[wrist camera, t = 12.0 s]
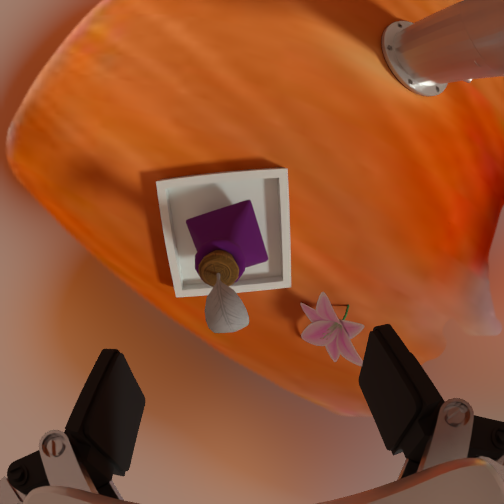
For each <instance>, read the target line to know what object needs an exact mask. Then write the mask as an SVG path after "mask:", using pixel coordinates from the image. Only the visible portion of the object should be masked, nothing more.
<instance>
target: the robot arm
mask: <svg viewBox="0 0 504 504" xmlns="http://www.w3.org/2000/svg"><path fill="white" fill-rule="evenodd" d="M381 44H382V51H383V54H384V57H385V60H386V62H387V64H388V66H389V68H390V69H391V71H392V72H393V74H394V75H395V76H396V78H397V79H398V80H399V81H400V82H401V83H402V84H403V85H404V86H405V87H407V88H408V89H409V90H411V91H413V92H414V93H416V94H419V95H422V96H435V95H438V94H440V93H442V92H443V91H444V89H445V88H446V86H447V84H448V83H449V82H456V81H462V80H463V81H465V82H467V83H470V82H471V80H472V79H478V78H487V77H497V76H504V0H464V1H461V2H459V3H456V4H454V5H451V6H449V7H447V8H445V9H442V10H440V11H438V12H436V13H434V14H432V15H430V16H428V17H426V18H424V19H422V20H420V21H418V22H416V23H411V22H408V21H397V22H394V23H392V24H390V25H389V26H388V27H386V29H385V30H384V32H383V35H382V43H381ZM359 385H360V388H361V390H362V392H363V394H364V397H365V399H366V401H367V404H368V406H369V408H370V410H371V413H372V415H373V417H374V419H375V422H376V424H377V427H378V429H379V432H380V434H381V437H382V439H383V441H384V444H385V446H386V448H387V450H391V451H392V454H393V455H396V454H398V453H401V452H403V453H404V455H405V457H406V460H405V463H404V465H403V467H402V470H401V472H400V474H399V477H398V479H397V481H394V482H392V483H389V484H386V485H383V486H380V487H377V488H374V489H371V490H368V491H364V492H361V493H358V494H355V495H351V496H347V497H343V498H339V499H335V500H331V501H327V502H322V503H317V504H504V422H501V421H496V420H492V419H487V418H483V417H479V416H475V415H474V412H473V409H472V407H471V406H470V404H469V403H468V402H466V401H465V400H462V399H460V398H453V399H449V400H447V401H446V402H445V401H444V400H443V398H442V397H441V395H440V394H439V392H438V391H437V389H436V387H435V386H434V384H433V383H432V381H431V380H430V378H429V377H428V375H427V374H426V373H425V371H424V370H423V368H422V366H421V365H420V364H419V362H418V361H417V359H416V358H415V356H414V355H413V354H412V353H410V352H409V350H408V349H407V347H406V346H405V344H404V343H403V342H402V340H401V339H400V337H399V336H398V335H397V333H396V332H395V331H394V329H393V328H392V327H391V325H390V324H385V325H381V326H376V327H374V329H373V331H371V332H370V334H369V338H368V342H367V347H366V351H365V356H364V360H363V364H362V368H361V372H360V376H359ZM144 406H145V397H144V395H143V393H142V391H141V389H140V387H139V385H138V383H137V382H136V379H135V378H134V376H133V374H132V372H131V370H130V367H129V365H128V363H127V361H126V359H125V357H124V355H123V354H122V353H120V352H119V351H118V350H117V349H103V350H102V352H101V354H100V355H99V357H98V359H97V361H96V363H95V365H94V367H93V369H92V371H91V373H90V375H89V377H88V379H87V381H86V383H85V385H84V387H83V389H82V392H81V394H80V396H79V398H78V400H77V402H76V405H75V406H74V409H73V411H72V413H71V416H70V418H69V420H68V422H67V425H66V427H65V429H66V430H65V432H61V431H59V430H51V431H49V432H47V433H45V434H44V436H43V437H42V438H41V440H40V443H39V450H38V451H36V452H34V453H32V454H30V455H28V456H25V457H23V458H21V459H19V460H16V461H15V462H13V463H11V465H10V466H9V468H8V472H7V476H8V478H6V477H3V478H2V479H1V480H0V504H138V503H133V502H128V501H124V499H123V498H122V497H121V495H120V493H119V491H118V490H117V488H116V486H115V485H114V483H113V481H112V476H113V474H115V475H120V476H125V471H128V470H129V467H130V464H131V459H132V455H133V450H134V446H135V442H136V438H137V433H138V429H139V425H140V422H141V418H142V414H143V410H144Z"/></svg>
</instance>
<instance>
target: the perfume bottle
mask: <svg viewBox="0 0 504 504" xmlns="http://www.w3.org/2000/svg"><path fill="white" fill-rule="evenodd" d="M186 224H187V227H188V230H189V232H190V235H191V237H192V240H193V243H194V245H195V248H196V250H197V253H196V255H195V270H196V271H197V273H198V275H199V276H200V278H201V280H203V282H204V283H206V284H208V285H210V286H212V287H213V289H212V290H211V292H210V293H209V295H208V296H207V300H206V306H205V317H206V322H207V324H208V327H209V329H211V330H212V331H213V332H214V333H227V332H235V331H237V330H239V329H241V328H243V327H245V326H247V325H248V324H249V316H248V313H247V310H246V308H245V306H244V304H243V302H242V300H241V299H240V298H239V296H238V295H237V294H236V292H235V291H234V290H233V289H232V288H230V287H229V286H231V285H233V284H234V283H235V282H237V281H238V280H239V278H240V277H241V276H242V274H243V273H244V271H245V268H246V267H250V266H253V265H256V264H260V263H263V262H266V261H268V255H267V252H266V249H265V245H264V242H263V239H262V235H261V232H260V229H259V225H258V222H257V219H256V216H255V212H254V209H253V206H252V203H251V201H250V200H245V201H242V202H239V203H236V204H232V205H229V206H226V207H223V208H220V209H217V210H214V211H211V212H208V213H205V214H202V215H199V216H196V217H193V218H190V219H187V220H186Z"/></svg>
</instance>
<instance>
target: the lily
mask: <svg viewBox="0 0 504 504" xmlns="http://www.w3.org/2000/svg"><path fill="white" fill-rule="evenodd" d="M300 305H301V307H302V309H303V311H304V312H305V314H306V315H307V317H308V318H309V319H310V321H311V322H312V323H311V324H310V325H309V326H307V327H306V329H305V330H304V331H303V332H302V334H301V338H302V339H303V340H305V341H306V342H308V343H311V344H313V345H317V346H326V349H327V351H328V353H329V355H330V357H331V358H332V360H333V361H334V362H336V361H337V360H338V358H339V356H340V354H341V355H342V356H343V357H344V358H345V359H347V360H348V361H350V362H352V363H354V364H356V365H359V366H362V364H363V361H362V359H361V358H360V356H359V355H358V353H357V352H356V350H355V348H354V346H353V344H352V342H351V340H350V339H352V338H354V337H355V336H356V335H358V334H359V333H360V332H361V331H362V330H363V328H364V325H363V324H359V323H355V322H350V321H345V318H346V316H347V312H348V309H349V305H347V309H346V313H345V315H344V317H343V319H342V320H340V319H338V317H337V316H336V314H335V312H334V310H333V308H332V305H331V303H330V301H329V299H328V297H327V295H326V294H325V293H324V292H322V293H321V294H320V296H319V299H318V302H317V305H316V310H315V309H313V308H311V307H309V306H307V305H305V304H303V303H301V304H300Z"/></svg>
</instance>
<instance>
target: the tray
mask: <svg viewBox="0 0 504 504" xmlns="http://www.w3.org/2000/svg"><path fill="white" fill-rule="evenodd" d="M156 186H157V194H158V201H159V208H160V214H161V221H162V227H163V233H164V239H165V244H166V250H167V255H168V260H169V265H170V270H171V275H172V280H173V285H174V289H175V294H176V297H189V296H203V295H209V293H210V292H211V290H212V289H213V287H212V286H210V285H208V284H206V283H204V282H203V280H201V278H200V276H199V275H198V273H197V271H196V270H195V255H196V253H197V250H196V248H195V245H194V243H193V240H192V237H191V235H190V232H189V230H188V227H187V224H186V220H187V219H190V218H193V217H196V216H199V215H202V214H205V213H208V212H211V211H214V210H217V209H220V208H223V207H226V206H229V205H232V204H236V203H239V202H242V201H245V200H250V201H251V203H252V206H253V209H254V212H255V216H256V219H257V222H258V225H259V229H260V232H261V235H262V239H263V242H264V245H265V249H266V252H267V255H268V261H266V262H263V263H260V264H256V265H253V266H250V267H246V268H245V271H244V273H243V274H242V276H241V277H240V278H239V280H238V281H237V282H235V283H234V284H233V285H231V286H229V287H230V288H232V289H233V290H234V291H235V292H236V293H238V292H249V291H260V290H270V289H279V288H288V287H291V252H290V216H289V190H288V170H287V168H284V167H280V168H263V169H249V170H237V171H226V172H216V173H206V174H198V175H189V176H181V177H174V178H167V179H161V180H158V181H156Z"/></svg>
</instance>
